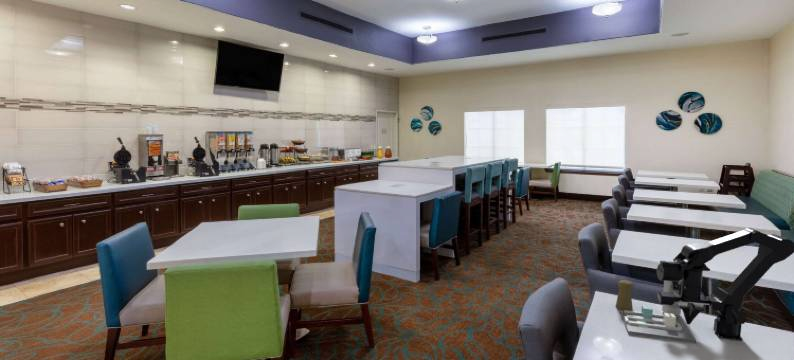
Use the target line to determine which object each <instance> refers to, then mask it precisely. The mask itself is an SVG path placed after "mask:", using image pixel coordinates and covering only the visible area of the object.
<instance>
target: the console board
mask: <svg viewBox="0 0 794 360" xmlns="http://www.w3.org/2000/svg"><path fill="white" fill-rule="evenodd" d="M653 310H654V309H653V307H652V306H651V305H644V304H641V311H634V310H631V311H627V310H625V311H623V310H620V311H621V313H620V315H621V318H622V321H623V324H624V326H625V328H626V331H627V334H628V335H631V336H638V337H645V338H653V339H661V340H669V341H674V342H675V341H676V342H681V343H689V344H690V343H691V344H697V339H696V337H694V335H693V333H692V331H691V330H690V328H689V327H688V326H687V323H686V321H685V320H684V319H683V318H679V317H676V323H675V327H669V326H664V324H663V318H664V314H659V313H653Z"/></svg>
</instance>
